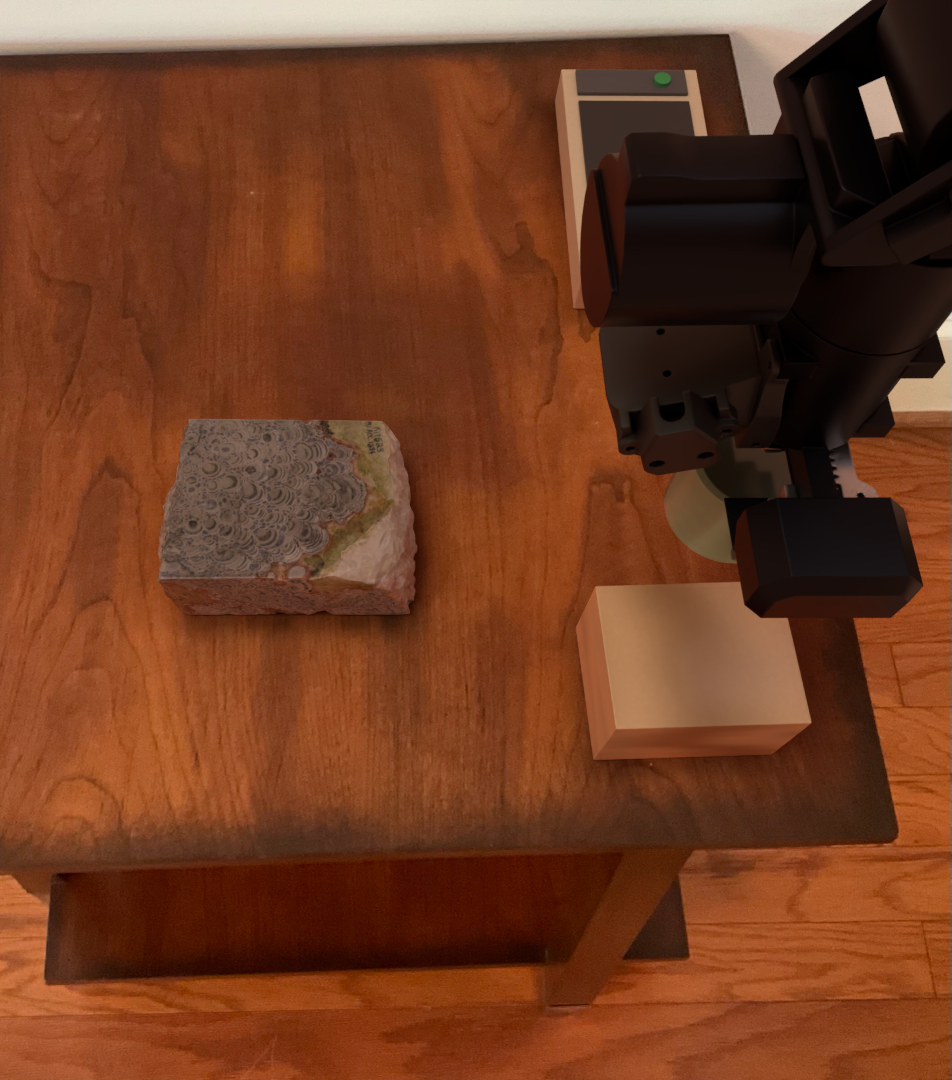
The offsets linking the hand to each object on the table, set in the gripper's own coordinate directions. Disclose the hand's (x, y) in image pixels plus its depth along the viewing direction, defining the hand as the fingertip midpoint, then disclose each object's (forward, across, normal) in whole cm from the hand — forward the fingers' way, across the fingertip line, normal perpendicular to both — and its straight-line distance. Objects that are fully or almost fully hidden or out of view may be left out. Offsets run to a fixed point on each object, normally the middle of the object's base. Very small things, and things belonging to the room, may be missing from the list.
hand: (731, 498), depth 53 cm
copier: (+13, -32, +2) cm, 34 cm away
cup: (+1, 0, 0) cm, 1 cm away
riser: (+13, +5, 0) cm, 14 cm away
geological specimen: (+13, -4, -22) cm, 26 cm away
